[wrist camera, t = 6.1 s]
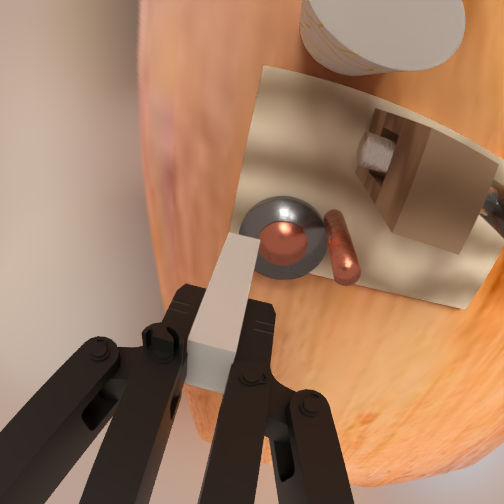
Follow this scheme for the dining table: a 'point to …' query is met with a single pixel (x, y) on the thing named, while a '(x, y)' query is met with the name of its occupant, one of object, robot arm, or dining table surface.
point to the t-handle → (379, 157)
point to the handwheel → (299, 240)
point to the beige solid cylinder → (381, 34)
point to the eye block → (375, 185)
